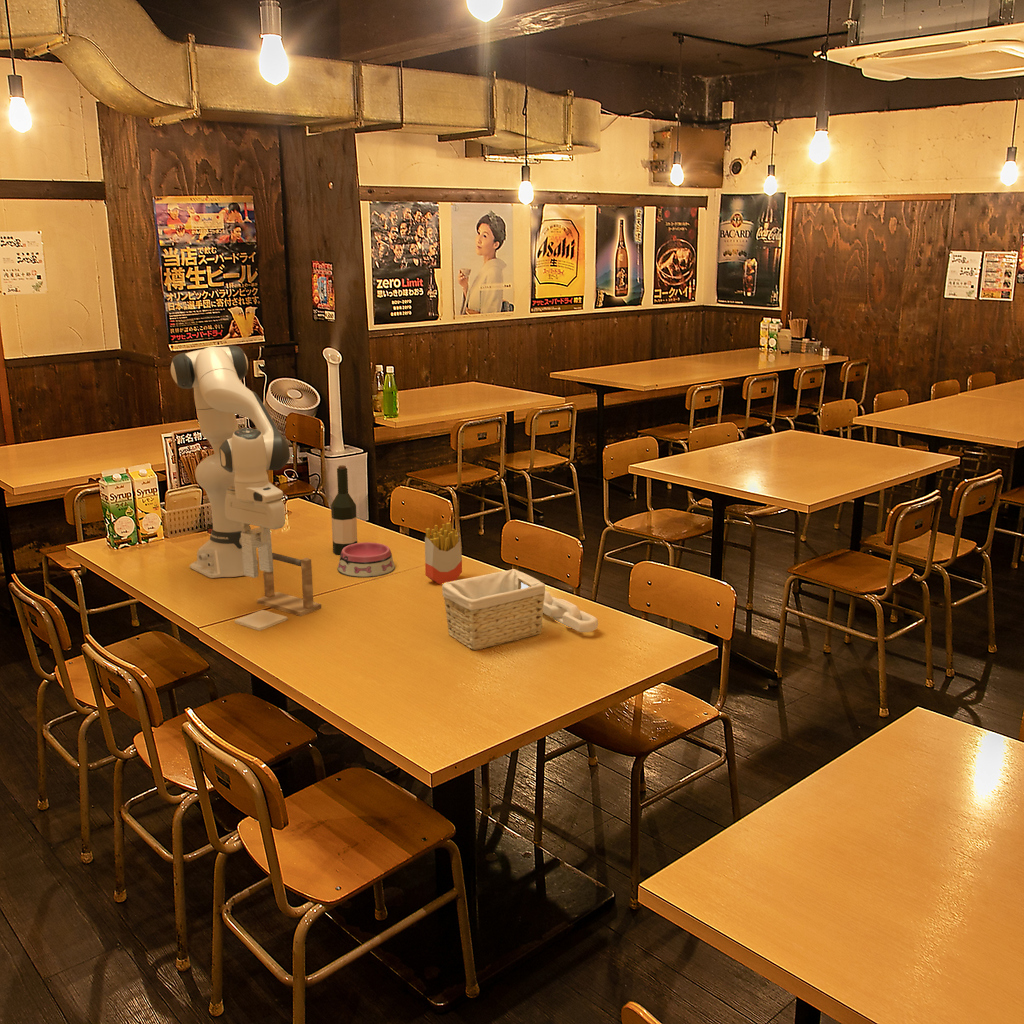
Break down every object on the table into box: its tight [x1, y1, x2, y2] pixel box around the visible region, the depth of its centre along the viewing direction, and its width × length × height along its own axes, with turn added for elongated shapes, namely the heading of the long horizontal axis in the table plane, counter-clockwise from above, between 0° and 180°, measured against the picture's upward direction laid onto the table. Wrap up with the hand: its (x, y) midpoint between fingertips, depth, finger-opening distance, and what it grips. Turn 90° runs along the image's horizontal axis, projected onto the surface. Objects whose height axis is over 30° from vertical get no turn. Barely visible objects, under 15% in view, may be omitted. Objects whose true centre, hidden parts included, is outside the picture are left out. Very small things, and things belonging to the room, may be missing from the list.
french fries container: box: [424, 521, 463, 585], centre depth 298 cm, size 5×11×18 cm, turn 127°
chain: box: [527, 586, 599, 633], centre depth 269 cm, size 30×6×6 cm, turn 34°
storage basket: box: [441, 568, 546, 651], centre depth 257 cm, size 24×16×15 cm
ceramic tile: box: [234, 609, 289, 632], centre depth 267 cm, size 10×10×1 cm
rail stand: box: [256, 552, 322, 617], centre depth 277 cm, size 18×8×16 cm, turn 56°
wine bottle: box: [330, 465, 358, 556], centre depth 325 cm, size 8×8×30 cm
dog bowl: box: [336, 541, 396, 579], centre depth 311 cm, size 18×19×7 cm
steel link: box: [241, 526, 274, 579], centre depth 262 cm, size 4×7×12 cm, turn 146°
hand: (256, 540), depth 261 cm, fingers closed on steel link, 4 cm apart
